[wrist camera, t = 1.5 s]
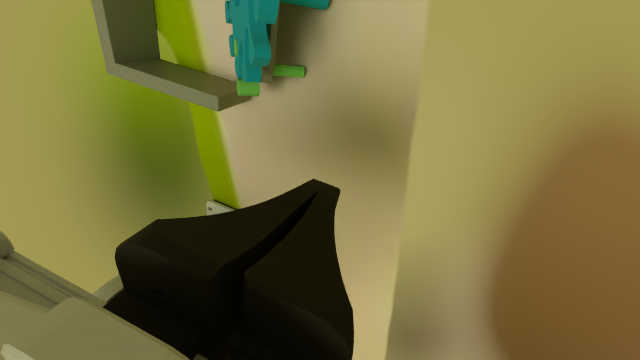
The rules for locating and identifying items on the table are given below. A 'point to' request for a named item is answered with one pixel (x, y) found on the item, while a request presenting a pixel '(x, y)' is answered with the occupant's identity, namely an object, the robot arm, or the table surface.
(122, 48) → the housing
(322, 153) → the table surface
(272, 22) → the gear
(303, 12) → the table surface
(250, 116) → the table surface
